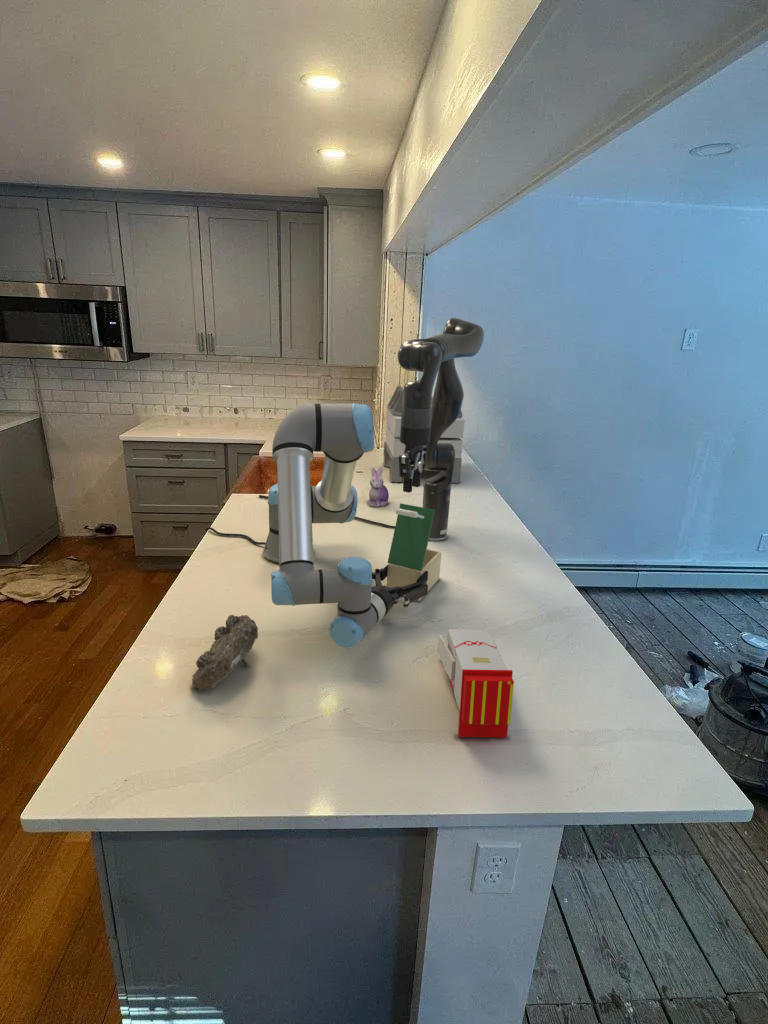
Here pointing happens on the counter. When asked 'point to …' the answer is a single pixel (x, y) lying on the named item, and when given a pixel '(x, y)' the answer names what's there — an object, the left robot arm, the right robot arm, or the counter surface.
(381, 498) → the figurine
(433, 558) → the chest
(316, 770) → the counter surface
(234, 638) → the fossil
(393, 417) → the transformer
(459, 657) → the toy
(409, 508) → the lid
